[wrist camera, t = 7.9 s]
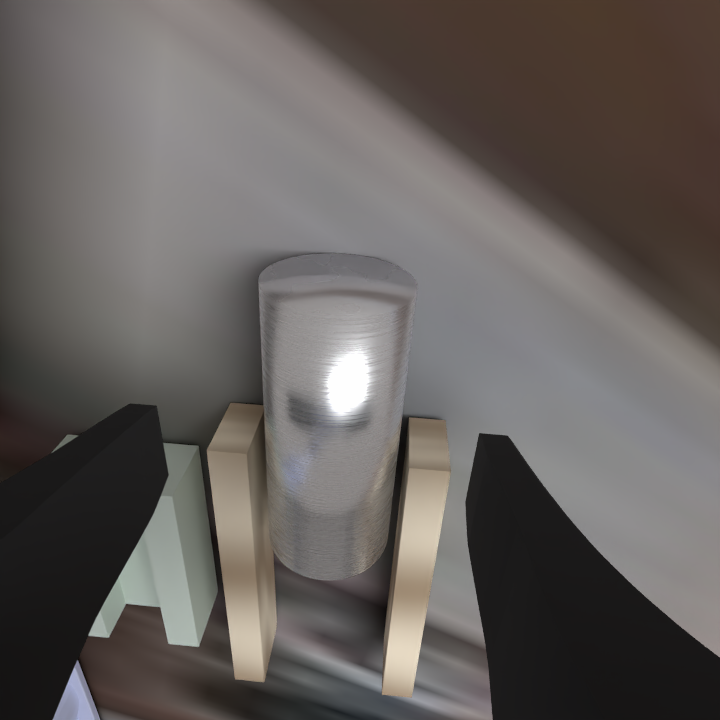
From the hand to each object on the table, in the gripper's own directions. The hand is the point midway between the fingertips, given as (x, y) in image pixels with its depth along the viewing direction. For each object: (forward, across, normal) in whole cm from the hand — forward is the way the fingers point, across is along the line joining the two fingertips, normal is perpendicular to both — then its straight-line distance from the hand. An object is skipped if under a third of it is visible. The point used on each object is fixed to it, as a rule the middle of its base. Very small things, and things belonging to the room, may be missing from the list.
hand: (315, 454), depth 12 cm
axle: (+3, 0, +2) cm, 4 cm away
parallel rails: (+5, 0, +9) cm, 10 cm away
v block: (+5, +7, +9) cm, 12 cm away
